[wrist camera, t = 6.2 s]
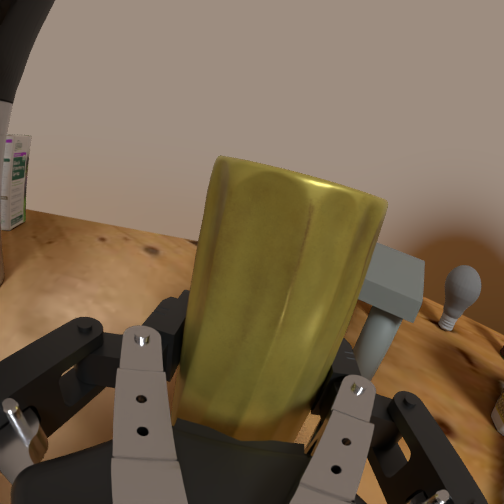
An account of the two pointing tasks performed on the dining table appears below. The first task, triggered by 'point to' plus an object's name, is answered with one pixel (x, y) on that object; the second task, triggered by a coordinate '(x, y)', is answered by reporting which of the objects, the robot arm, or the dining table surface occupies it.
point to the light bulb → (459, 294)
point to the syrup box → (14, 181)
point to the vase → (270, 297)
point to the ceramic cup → (499, 414)
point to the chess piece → (502, 352)
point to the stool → (387, 303)
